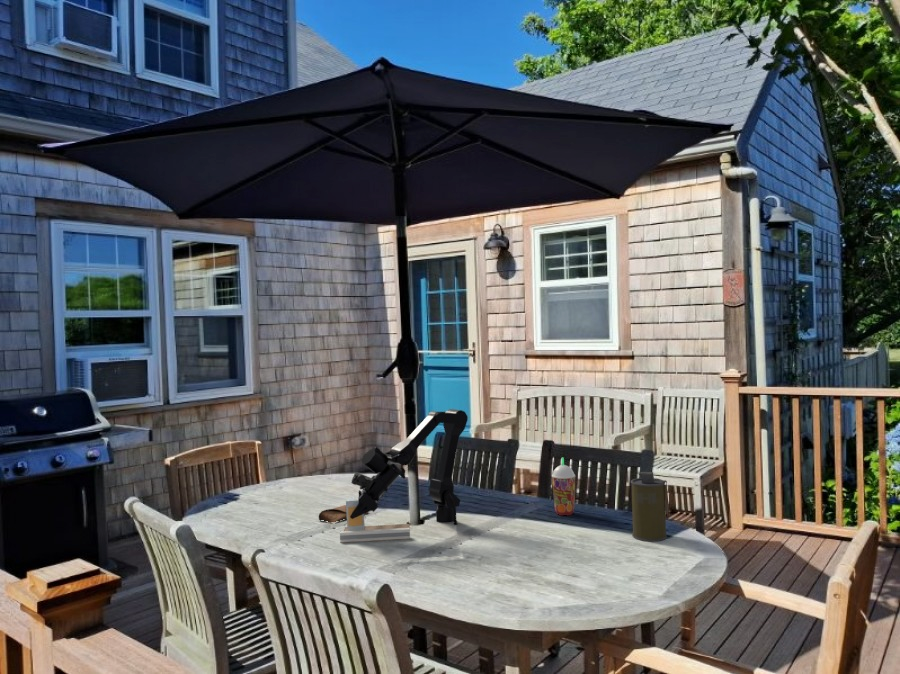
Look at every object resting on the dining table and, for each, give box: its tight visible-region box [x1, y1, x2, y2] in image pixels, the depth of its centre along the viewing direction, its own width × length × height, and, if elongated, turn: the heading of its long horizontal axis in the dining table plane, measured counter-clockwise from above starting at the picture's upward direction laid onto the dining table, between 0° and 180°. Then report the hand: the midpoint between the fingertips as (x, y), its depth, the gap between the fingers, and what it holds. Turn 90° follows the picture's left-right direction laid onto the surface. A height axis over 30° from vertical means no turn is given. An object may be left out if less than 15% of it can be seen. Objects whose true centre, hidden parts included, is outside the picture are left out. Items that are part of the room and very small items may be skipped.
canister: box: [630, 471, 669, 542], centre depth 227 cm, size 11×10×20 cm
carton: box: [345, 496, 366, 531], centre depth 237 cm, size 6×5×11 cm
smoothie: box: [551, 457, 576, 516], centre depth 257 cm, size 8×8×20 cm
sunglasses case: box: [318, 504, 369, 522], centre depth 265 cm, size 18×7×7 cm
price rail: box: [339, 527, 411, 543], centre depth 231 cm, size 22×2×3 cm, turn 93°
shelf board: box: [339, 523, 411, 544], centre depth 239 cm, size 22×18×1 cm
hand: (351, 515), depth 236 cm, fingers closed on carton, 5 cm apart
